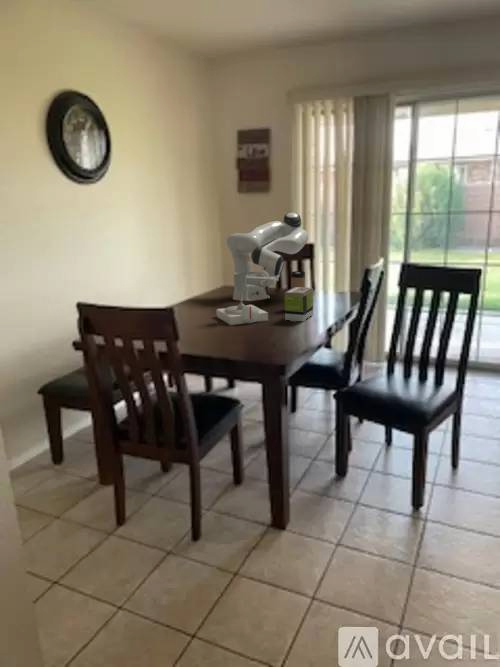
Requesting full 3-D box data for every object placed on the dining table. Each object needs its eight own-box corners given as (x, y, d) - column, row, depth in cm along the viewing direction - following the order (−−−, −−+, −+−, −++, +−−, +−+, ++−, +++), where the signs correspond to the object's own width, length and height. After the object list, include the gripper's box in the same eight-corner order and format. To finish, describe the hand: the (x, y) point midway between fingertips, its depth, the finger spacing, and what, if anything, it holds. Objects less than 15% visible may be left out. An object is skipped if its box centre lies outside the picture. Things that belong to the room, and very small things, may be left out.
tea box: (295, 314, 261) (295, 286, 257) (313, 315, 256) (314, 287, 252) (284, 320, 248) (284, 291, 244) (303, 322, 243) (303, 292, 239)
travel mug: (306, 307, 276) (306, 271, 270) (303, 310, 269) (303, 273, 263) (292, 306, 278) (292, 271, 273) (289, 309, 271) (289, 273, 266)
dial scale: (252, 312, 266) (251, 295, 264) (269, 321, 247) (269, 303, 245) (216, 316, 259) (216, 299, 256) (231, 325, 240) (231, 307, 237)
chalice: (234, 307, 256) (233, 272, 251) (248, 307, 256) (247, 272, 251) (234, 310, 249) (233, 274, 244) (248, 310, 249) (247, 274, 244)
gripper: (280, 285, 268) (269, 289, 256) (246, 283, 277) (234, 287, 265) (280, 273, 267) (269, 277, 255) (245, 272, 275) (234, 275, 263)
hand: (251, 282), depth 260 cm, fingers open, 8 cm apart
